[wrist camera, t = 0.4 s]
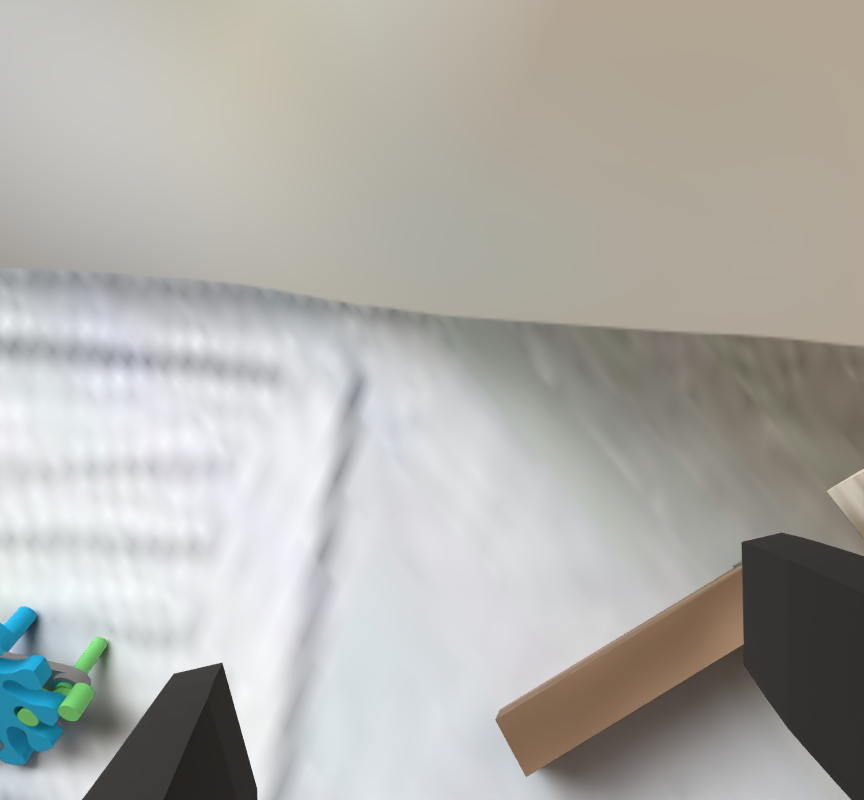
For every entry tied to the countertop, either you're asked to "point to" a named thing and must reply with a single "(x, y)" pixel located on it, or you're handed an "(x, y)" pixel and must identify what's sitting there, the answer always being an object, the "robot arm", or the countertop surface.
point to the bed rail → (625, 673)
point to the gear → (38, 692)
